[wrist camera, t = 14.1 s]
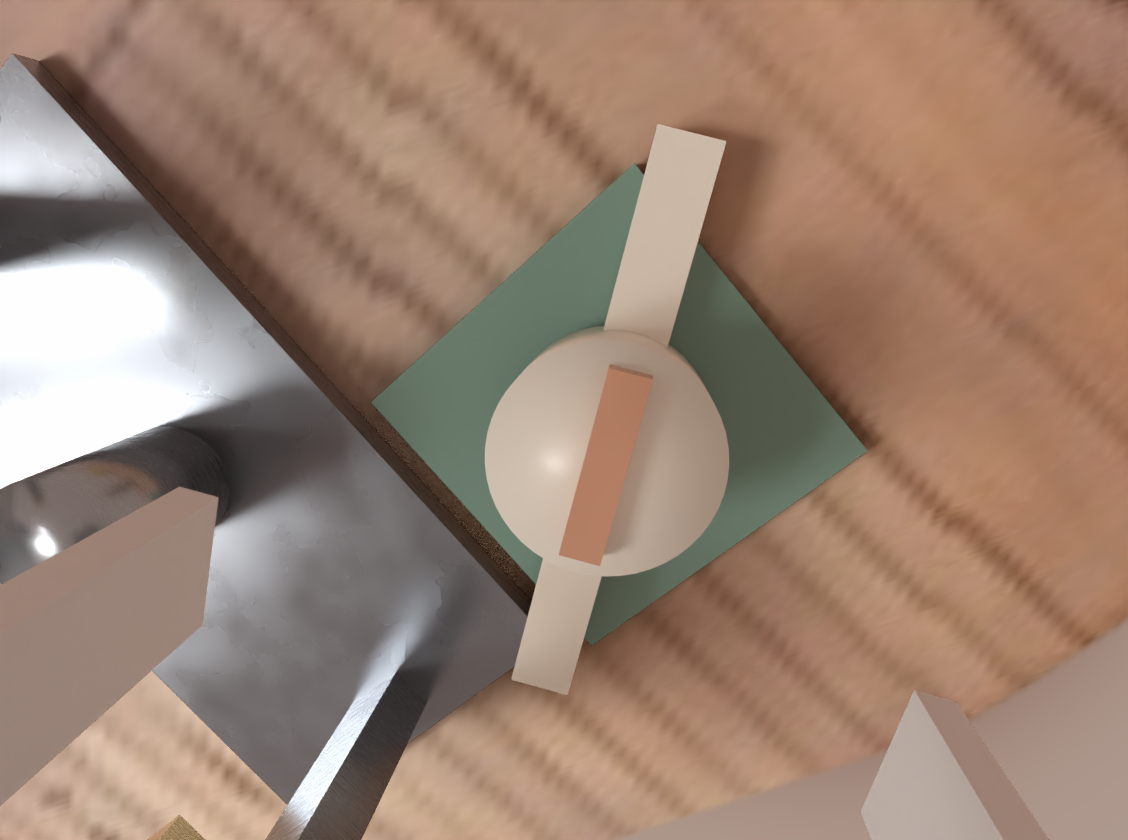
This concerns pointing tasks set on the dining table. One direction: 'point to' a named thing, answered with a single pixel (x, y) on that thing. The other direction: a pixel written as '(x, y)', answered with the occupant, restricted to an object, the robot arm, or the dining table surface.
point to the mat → (700, 333)
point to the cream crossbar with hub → (613, 426)
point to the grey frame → (226, 478)
